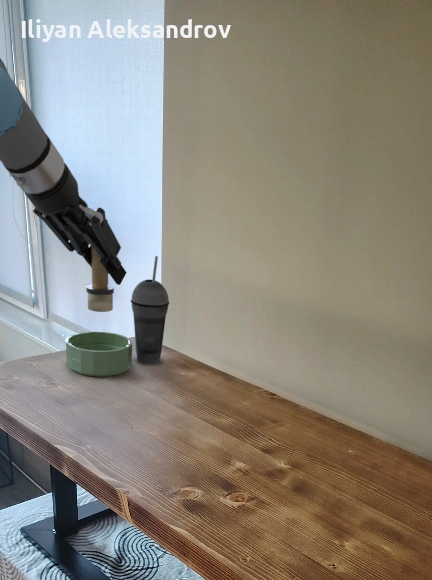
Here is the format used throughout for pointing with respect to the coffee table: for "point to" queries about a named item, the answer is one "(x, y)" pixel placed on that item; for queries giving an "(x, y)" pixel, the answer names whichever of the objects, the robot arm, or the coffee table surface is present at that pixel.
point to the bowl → (99, 353)
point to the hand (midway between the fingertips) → (113, 276)
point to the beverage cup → (149, 318)
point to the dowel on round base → (99, 286)
